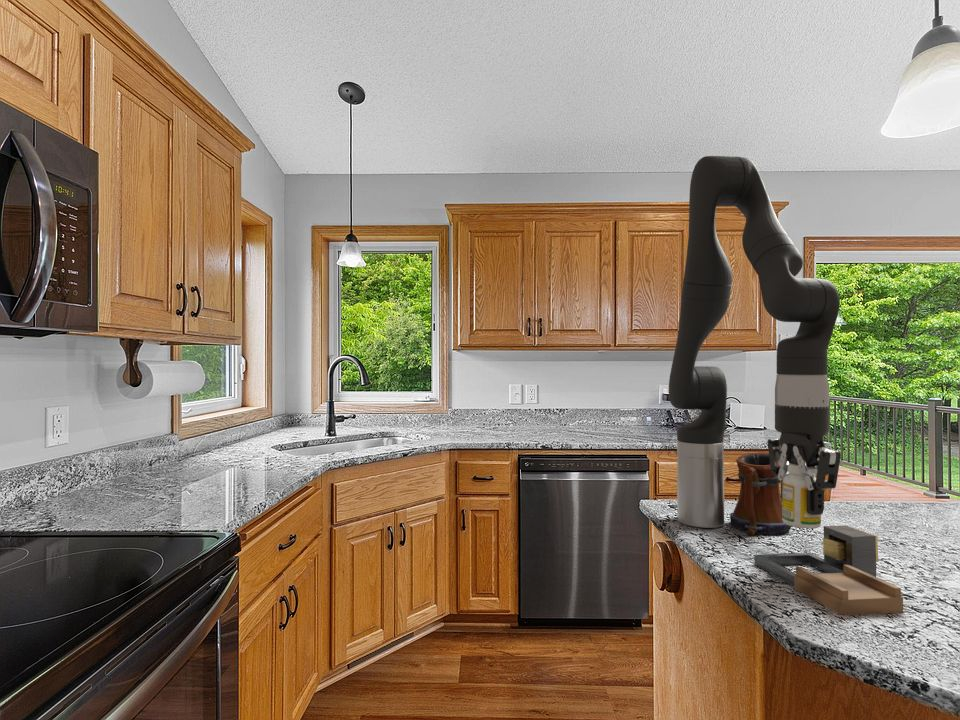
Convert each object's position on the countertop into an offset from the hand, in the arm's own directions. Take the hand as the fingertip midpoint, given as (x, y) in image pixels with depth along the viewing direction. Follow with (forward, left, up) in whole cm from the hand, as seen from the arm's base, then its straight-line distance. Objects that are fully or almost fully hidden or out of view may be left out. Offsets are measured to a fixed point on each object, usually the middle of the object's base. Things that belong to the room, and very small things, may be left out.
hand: (801, 508), depth 88 cm
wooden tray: (+10, -1, -10) cm, 15 cm away
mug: (-23, +7, -10) cm, 26 cm away
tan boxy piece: (0, +8, -8) cm, 11 cm away
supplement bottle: (0, 0, -3) cm, 3 cm away
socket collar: (0, 0, -10) cm, 10 cm away
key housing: (0, +8, -10) cm, 13 cm away
